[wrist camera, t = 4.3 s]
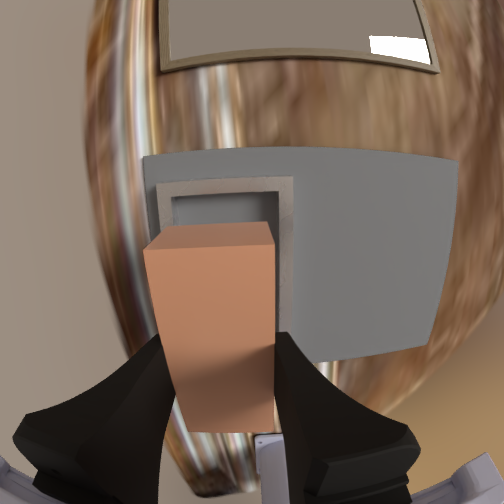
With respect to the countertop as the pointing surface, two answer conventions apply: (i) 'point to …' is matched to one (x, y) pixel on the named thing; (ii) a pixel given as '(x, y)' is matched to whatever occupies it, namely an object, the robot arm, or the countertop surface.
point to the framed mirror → (295, 32)
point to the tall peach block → (217, 322)
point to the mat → (338, 236)
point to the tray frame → (234, 184)
